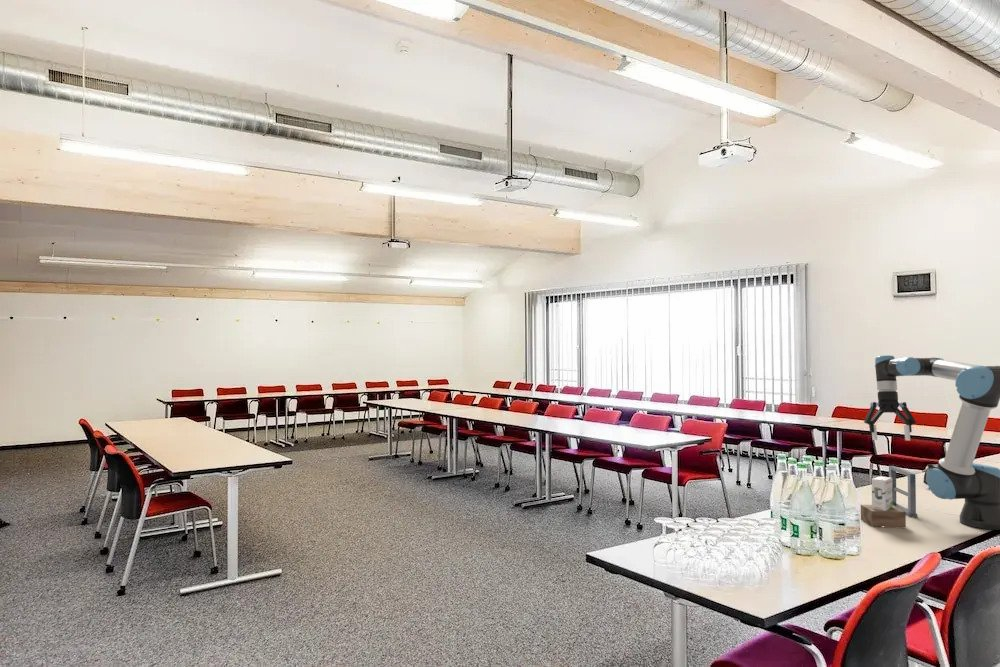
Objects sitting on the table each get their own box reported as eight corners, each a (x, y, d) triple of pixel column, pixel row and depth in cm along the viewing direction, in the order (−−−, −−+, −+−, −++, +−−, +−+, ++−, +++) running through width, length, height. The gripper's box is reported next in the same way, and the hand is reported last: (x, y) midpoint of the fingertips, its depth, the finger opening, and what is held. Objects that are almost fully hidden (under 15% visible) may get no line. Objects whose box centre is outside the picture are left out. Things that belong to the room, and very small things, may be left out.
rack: (917, 516, 258) (916, 474, 258) (909, 516, 258) (908, 474, 258) (895, 505, 275) (894, 465, 276) (888, 505, 276) (887, 465, 276)
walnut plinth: (905, 527, 242) (905, 512, 242) (872, 526, 244) (872, 511, 244) (892, 520, 252) (892, 505, 252) (860, 519, 254) (860, 504, 254)
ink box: (879, 505, 253) (878, 475, 253) (893, 507, 249) (892, 477, 249) (871, 508, 247) (871, 478, 247) (885, 511, 243) (885, 480, 244)
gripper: (912, 391, 280) (916, 440, 277) (853, 391, 282) (857, 439, 279) (922, 390, 273) (926, 440, 270) (861, 390, 275) (865, 440, 272)
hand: (891, 440), depth 274 cm, fingers open, 13 cm apart
